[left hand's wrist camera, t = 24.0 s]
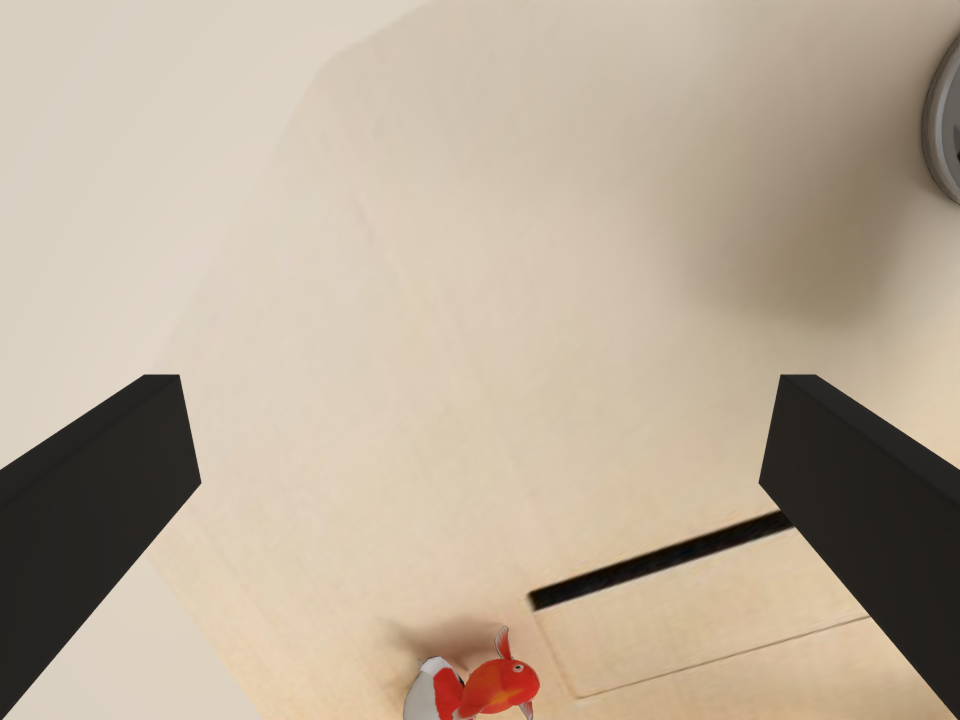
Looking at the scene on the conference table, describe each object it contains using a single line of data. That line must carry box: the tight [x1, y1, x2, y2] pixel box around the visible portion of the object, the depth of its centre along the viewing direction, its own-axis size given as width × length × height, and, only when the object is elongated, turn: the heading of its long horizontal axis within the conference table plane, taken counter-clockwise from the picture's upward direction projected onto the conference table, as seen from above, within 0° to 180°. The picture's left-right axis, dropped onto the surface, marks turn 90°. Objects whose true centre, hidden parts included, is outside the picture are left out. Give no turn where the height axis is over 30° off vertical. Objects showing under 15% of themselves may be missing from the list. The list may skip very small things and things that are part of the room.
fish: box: [403, 626, 540, 720], centre depth 53 cm, size 11×16×10 cm
